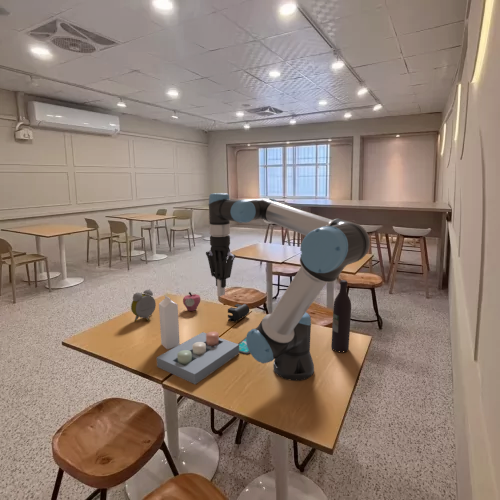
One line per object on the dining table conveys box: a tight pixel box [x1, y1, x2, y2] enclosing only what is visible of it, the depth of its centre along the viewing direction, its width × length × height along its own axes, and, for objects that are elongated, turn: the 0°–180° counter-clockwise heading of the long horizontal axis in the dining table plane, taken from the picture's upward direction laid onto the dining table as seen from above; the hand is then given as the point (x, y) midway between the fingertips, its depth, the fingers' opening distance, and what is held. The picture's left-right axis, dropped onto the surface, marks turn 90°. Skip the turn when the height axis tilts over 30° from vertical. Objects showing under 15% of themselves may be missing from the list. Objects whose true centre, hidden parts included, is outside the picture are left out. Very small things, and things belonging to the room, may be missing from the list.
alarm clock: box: [130, 288, 157, 322], centre depth 171 cm, size 12×7×15 cm, turn 141°
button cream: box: [192, 342, 206, 356], centre depth 133 cm, size 5×5×4 cm
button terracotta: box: [206, 331, 220, 346], centre depth 139 cm, size 5×5×4 cm
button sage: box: [177, 350, 192, 366], centre depth 127 cm, size 5×5×4 cm
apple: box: [182, 291, 201, 312], centre depth 184 cm, size 10×9×10 cm
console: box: [156, 331, 240, 385], centre depth 134 cm, size 20×26×4 cm
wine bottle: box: [330, 279, 352, 353], centre depth 139 cm, size 7×7×30 cm
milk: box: [158, 295, 181, 350], centre depth 144 cm, size 6×6×22 cm
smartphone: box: [237, 337, 251, 356], centre depth 146 cm, size 9×1×15 cm
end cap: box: [227, 303, 250, 323], centre depth 173 cm, size 10×7×7 cm
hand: (221, 294), depth 131 cm, fingers closed
